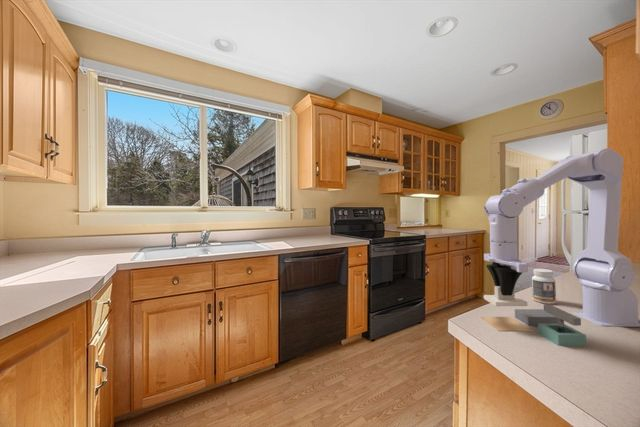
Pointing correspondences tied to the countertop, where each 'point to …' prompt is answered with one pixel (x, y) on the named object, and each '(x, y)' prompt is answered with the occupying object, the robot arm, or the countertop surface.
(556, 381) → the countertop surface
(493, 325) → the cork mat
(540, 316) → the box
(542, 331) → the key socket
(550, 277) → the pill bottle
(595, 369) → the countertop surface
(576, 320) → the t key
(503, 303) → the cover
